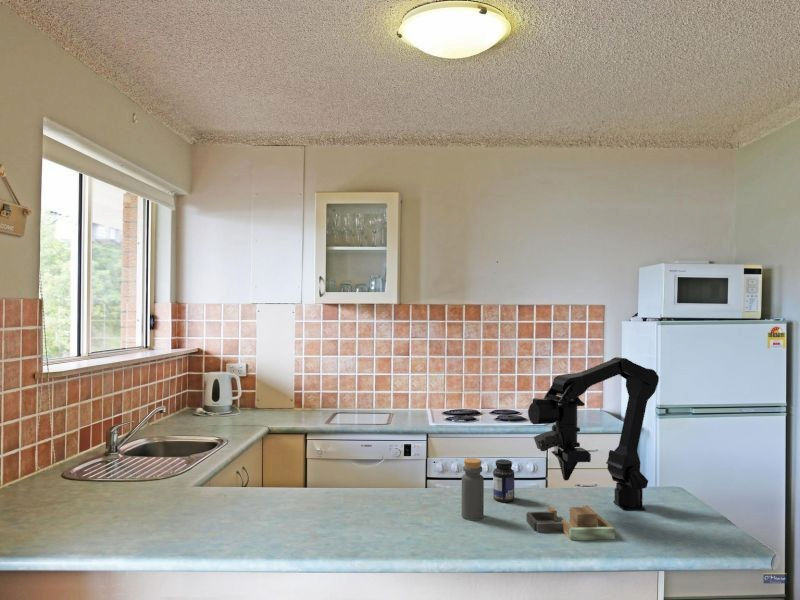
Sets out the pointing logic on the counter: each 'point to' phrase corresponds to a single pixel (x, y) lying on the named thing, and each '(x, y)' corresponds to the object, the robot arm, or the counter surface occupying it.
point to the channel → (569, 526)
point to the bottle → (472, 490)
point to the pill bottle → (503, 481)
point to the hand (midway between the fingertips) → (565, 480)
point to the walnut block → (582, 517)
